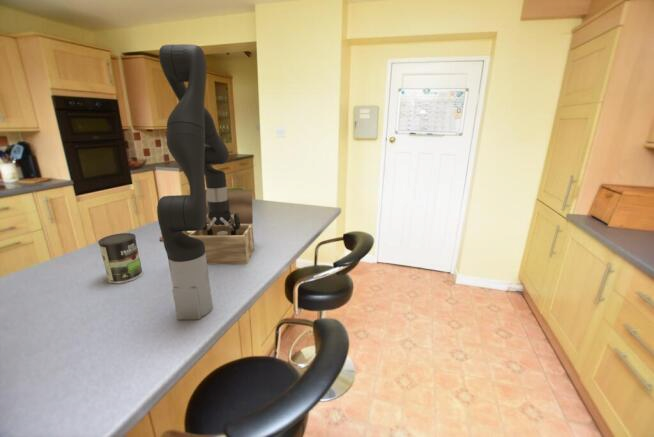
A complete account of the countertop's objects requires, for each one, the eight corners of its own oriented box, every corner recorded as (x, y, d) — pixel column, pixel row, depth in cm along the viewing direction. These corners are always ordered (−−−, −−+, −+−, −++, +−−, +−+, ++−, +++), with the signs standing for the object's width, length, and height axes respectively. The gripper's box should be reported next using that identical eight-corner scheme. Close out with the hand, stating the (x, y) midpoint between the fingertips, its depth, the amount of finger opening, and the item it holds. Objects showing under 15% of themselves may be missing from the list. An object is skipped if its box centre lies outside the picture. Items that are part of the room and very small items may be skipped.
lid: (251, 189, 122) (252, 189, 124) (199, 189, 122) (201, 189, 123) (252, 223, 123) (253, 223, 124) (200, 224, 122) (201, 223, 124)
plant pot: (241, 203, 197) (239, 186, 194) (249, 207, 189) (248, 189, 185) (223, 206, 190) (221, 188, 187) (231, 210, 181) (229, 192, 178)
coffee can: (149, 270, 108) (142, 233, 104) (126, 285, 99) (117, 245, 94) (125, 267, 110) (117, 231, 106) (99, 282, 101) (89, 242, 96)
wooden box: (246, 263, 114) (244, 236, 110) (190, 263, 114) (186, 236, 110) (254, 249, 127) (252, 224, 123) (204, 249, 126) (200, 224, 123)
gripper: (239, 196, 116) (243, 235, 121) (202, 196, 116) (207, 235, 121) (234, 201, 109) (238, 242, 114) (194, 201, 109) (200, 242, 114)
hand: (222, 239), depth 118 cm, fingers open, 8 cm apart
